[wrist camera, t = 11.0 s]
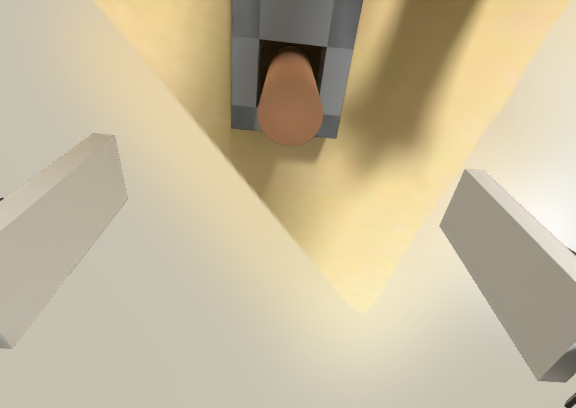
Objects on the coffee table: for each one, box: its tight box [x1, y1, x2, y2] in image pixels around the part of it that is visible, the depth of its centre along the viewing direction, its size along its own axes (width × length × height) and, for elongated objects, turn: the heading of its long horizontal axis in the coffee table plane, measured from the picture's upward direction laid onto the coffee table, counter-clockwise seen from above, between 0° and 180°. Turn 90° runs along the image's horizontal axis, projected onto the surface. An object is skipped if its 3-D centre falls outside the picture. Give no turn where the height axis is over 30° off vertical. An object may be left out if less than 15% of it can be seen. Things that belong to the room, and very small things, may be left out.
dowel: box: [258, 46, 323, 146], centre depth 26 cm, size 4×4×14 cm
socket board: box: [231, 0, 363, 139], centre depth 27 cm, size 20×10×4 cm, turn 174°
